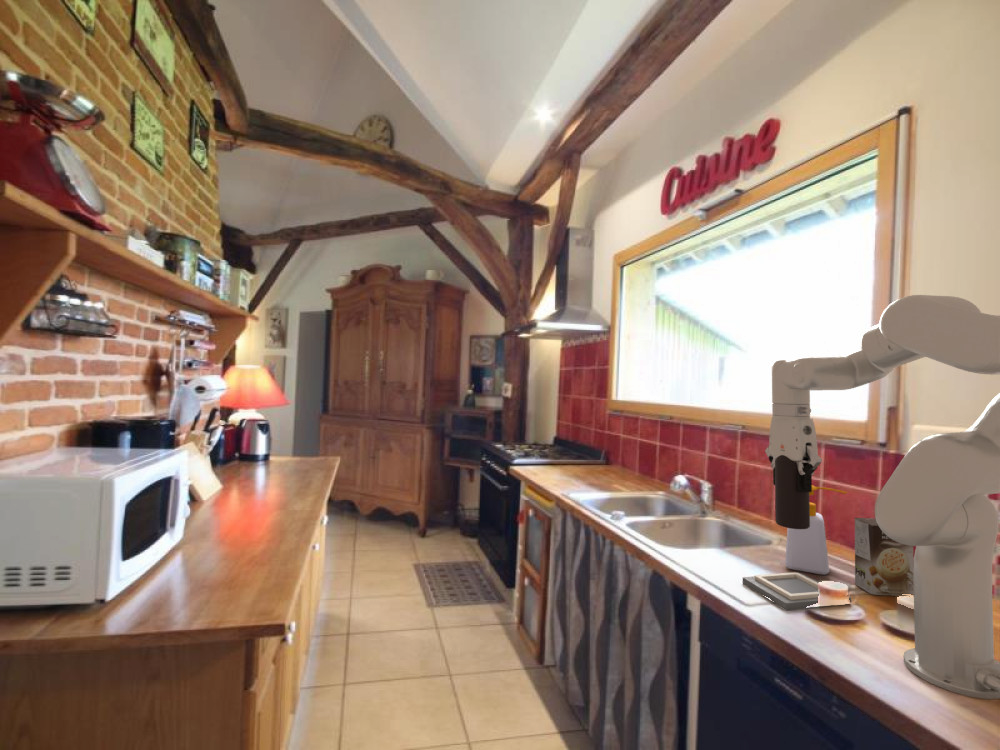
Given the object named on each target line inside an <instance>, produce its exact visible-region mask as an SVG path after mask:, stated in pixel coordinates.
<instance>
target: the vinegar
mask: <svg viewBox="0 0 1000 750" xmlns="http://www.w3.org/2000/svg"><path fill="white" fill-rule="evenodd" d="M780 448H782V449H784V445H783V443H782V445H781V447H780ZM782 451H785V450H782ZM803 460H804V459H803ZM805 466H806V464H803V467H805ZM797 474H800V473H799V470H798V468H797V463H796V462H794V461H792V460H790V459H789V458H788V457H786V456H785V455H780V456H778V457H777V458H776V459H775V485H774V491H775V492H774V494H775V495H774V496H775V497H774V498H775V502H774V503H775V506H774V507H775V524H776V525H778V526H780V527H782V528H786V529H788V528H791V529H808V528H809V527H810V495H809V492H803V493H800V492H798V491H797Z"/></svg>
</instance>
